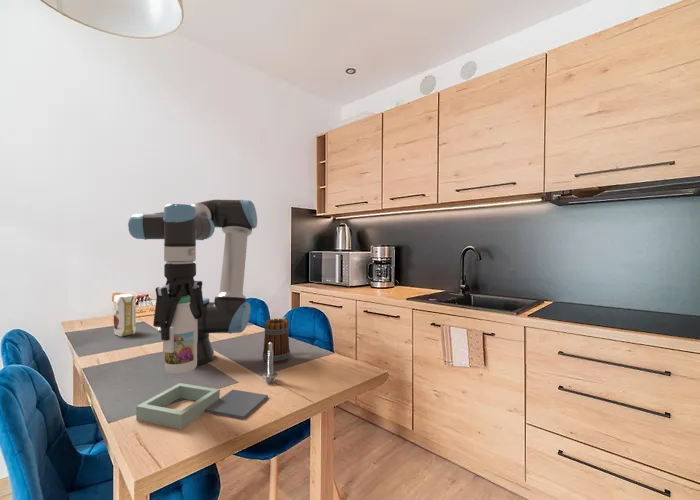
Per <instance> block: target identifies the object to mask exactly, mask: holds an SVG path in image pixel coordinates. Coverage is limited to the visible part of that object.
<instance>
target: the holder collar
mask: <svg viewBox="0 0 700 500" xmlns="http://www.w3.org/2000/svg"><path fill="white" fill-rule="evenodd" d="M220 391H221V390H220V389H219V388H213V387H205V386H202V385H201V386H200V385H196V384H195V385H194V384H190V383H189V384H187V383H182V382H181V383H180V382H178V383H177V384H175V385H173V386H171V387H169V388H167V389H166V390H164V391H162V392H160V393H158V394H157V395H154V396H153V397H151V398H149V399H147V400H146V401H143V402H142V403H140V404H138V405H136V406H135V408H136V409H135V410H136V411H135V412H136V417H135V419H136V420H137V421H141V422H145V423H151V424H155V425H159V426H166V427H169V428H175V429H180V430H182V429H183V428H185V427H186V426H187V425H189V424H190V423H192V422H193V421H195V420H196V419H197V418H199V417H200V416H202V415H203V414H205V413H206V412H205V409H206V408H207V407H209V406H210V405H211V404H213V403H214V402H216V401H217V400H219V399H220V398H221V396H220ZM179 399H184V400H191V401H194V402H192V403H191V404H189V405H188V406H186V407H185V408H182V410H179V409H174V408H169V407H166V406H168V405H169V404H171V403H173V402H175V401H176V400H179Z"/></svg>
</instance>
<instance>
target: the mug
mask: <svg viewBox="0 0 700 500" xmlns="http://www.w3.org/2000/svg"><path fill="white" fill-rule="evenodd" d="M289 324H290V322H289V318H288V317H286V316H282V317H281V318H274V319H273V318H271V319H268V320H266V321H265V326H264V341H263V351H262V360H263V361H264V362H265V363H267V364H268V361H267V360H268V345H269V343H270V342H271V343H272V349H273V365H275V364H277V365H278V364H282V363H286V362H287V361H289V360H290V357H291V350H290V340H289V338H290V337H289V331H290V330H289V329H290V328H289V327H290V325H289Z"/></svg>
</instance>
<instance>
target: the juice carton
mask: <svg viewBox="0 0 700 500" xmlns="http://www.w3.org/2000/svg"><path fill="white" fill-rule="evenodd" d="M113 298H114V299H113V332H114V335H116V336H118V337H125V336H130V335H135V333H136V330H137V329H136V328H137V324H136V317H137V314H136V312H137V310H136V306H137V305H136V303H137V301H136V297H135V294H132V295H131V294H129V293H126V294H125V293H124V294H117V295H114V297H113Z"/></svg>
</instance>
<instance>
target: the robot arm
mask: <svg viewBox="0 0 700 500" xmlns="http://www.w3.org/2000/svg"><path fill="white" fill-rule="evenodd" d="M163 207H164V209H163V211H161V212H155V213H144V212H143V213H135V214H133V215H131V216H130V218H129V220H128V222H127V227H128V232H129V235H130V236H131V237H132V238H134V239H138V240H145V241H147V240H163V242H164V243H163V260H164V262H165V263H164V266H163V269H164V272H163V273H164V278H165V279H166V282H165V284H164V286H163V285H162V286H161V287H160V286H157V287H156V288H155V289H154V290H155V293H156V294H155V295H156V299H155V308H154V316H153V325H152V326H153V327H155V328H159V327H160V328H161V331H160V338H161V341H162V352H163V353H165V352H168V353H173V352H174V327H171V324H172V321H173V317H174V314H175V310H176V307H177V304H178V302H179V301H180V299H181V297H183V296H188V295H189V296H190V304H189V306H190V310H191V313H192V315H193V316H194V318H195V321H196V326H197V366H200V365H204V364H206V363H210V362H211V361H212V360H213V359H214V358H215V357H214V356H215V352H214V349H213V346H212V343H211V340H210V334H232V335H233V334H240V333H243V332H244V330H246V327H247V326H248V324H249V320H250V316H251V303H249V302H247V297H246V296H245V295H244V283H245V282H244V280H245V269H246V257H247V249H248V237H249V236H250V235H252V232H253V231H252V230H253V229H255V228H257V227H258V215H257V209H256V207H255V204H254V203H253V201H251V200H247V199H210V200H204V201H201V202H195V203H193V204H184V203H183V204H181V203H168V204H166V205H165V206H163ZM215 228H221V230H222V232H223V233H224V235H225V237H224V245H223V253H222V254H223V257H222V266H221V273H220V274H221V276H220V283H219V293H218V294H217V295H216V296H214V301H212V302H211V301H210V298H209V297H203V289H202V288H203V281H202V280H195V279H194V277H196V276H197V264H196V263H195V261H196V260H197V255H196V254H197V252H196V251H197V250H196V246H197V241H204V240H208V239H209V238H211V237H212V236H213V235H214V232H215ZM172 297H175V298H172ZM166 322H167V323H166Z"/></svg>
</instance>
